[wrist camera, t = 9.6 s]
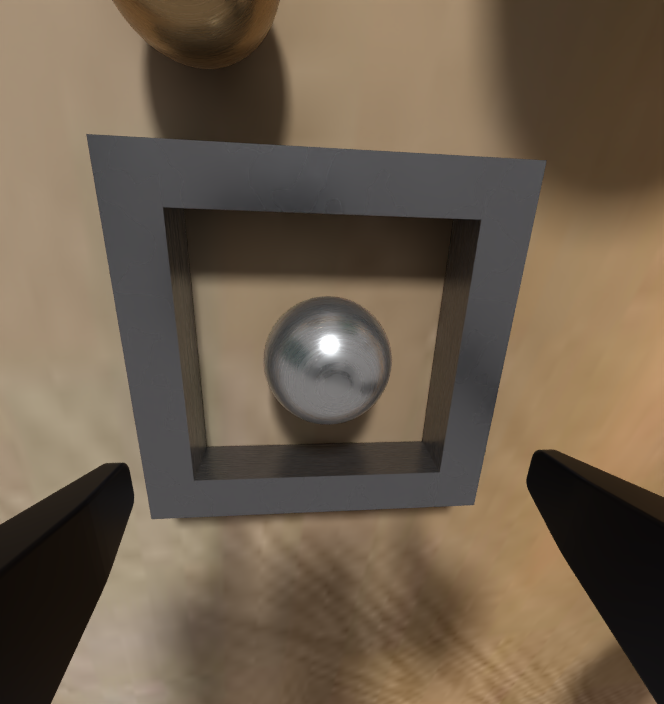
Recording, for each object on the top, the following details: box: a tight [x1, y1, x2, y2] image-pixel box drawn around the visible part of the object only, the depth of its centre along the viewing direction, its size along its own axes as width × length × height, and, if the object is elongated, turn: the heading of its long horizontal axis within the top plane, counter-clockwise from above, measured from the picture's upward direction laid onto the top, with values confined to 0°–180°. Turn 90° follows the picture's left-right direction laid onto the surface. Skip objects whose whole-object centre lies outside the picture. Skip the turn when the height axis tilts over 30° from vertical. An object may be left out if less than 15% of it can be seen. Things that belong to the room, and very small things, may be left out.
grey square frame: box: [86, 134, 547, 519], centre depth 16 cm, size 15×15×2 cm
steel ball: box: [264, 296, 392, 425], centre depth 15 cm, size 5×5×5 cm
